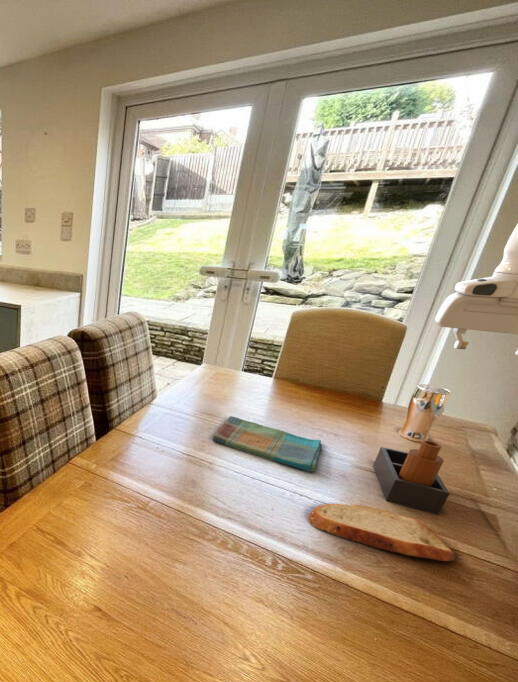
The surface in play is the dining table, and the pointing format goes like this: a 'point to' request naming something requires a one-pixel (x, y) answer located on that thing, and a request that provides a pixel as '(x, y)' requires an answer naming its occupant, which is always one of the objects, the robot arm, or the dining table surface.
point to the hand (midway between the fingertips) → (489, 352)
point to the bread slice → (381, 530)
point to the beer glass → (424, 411)
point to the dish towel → (269, 443)
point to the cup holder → (407, 484)
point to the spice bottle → (422, 464)
